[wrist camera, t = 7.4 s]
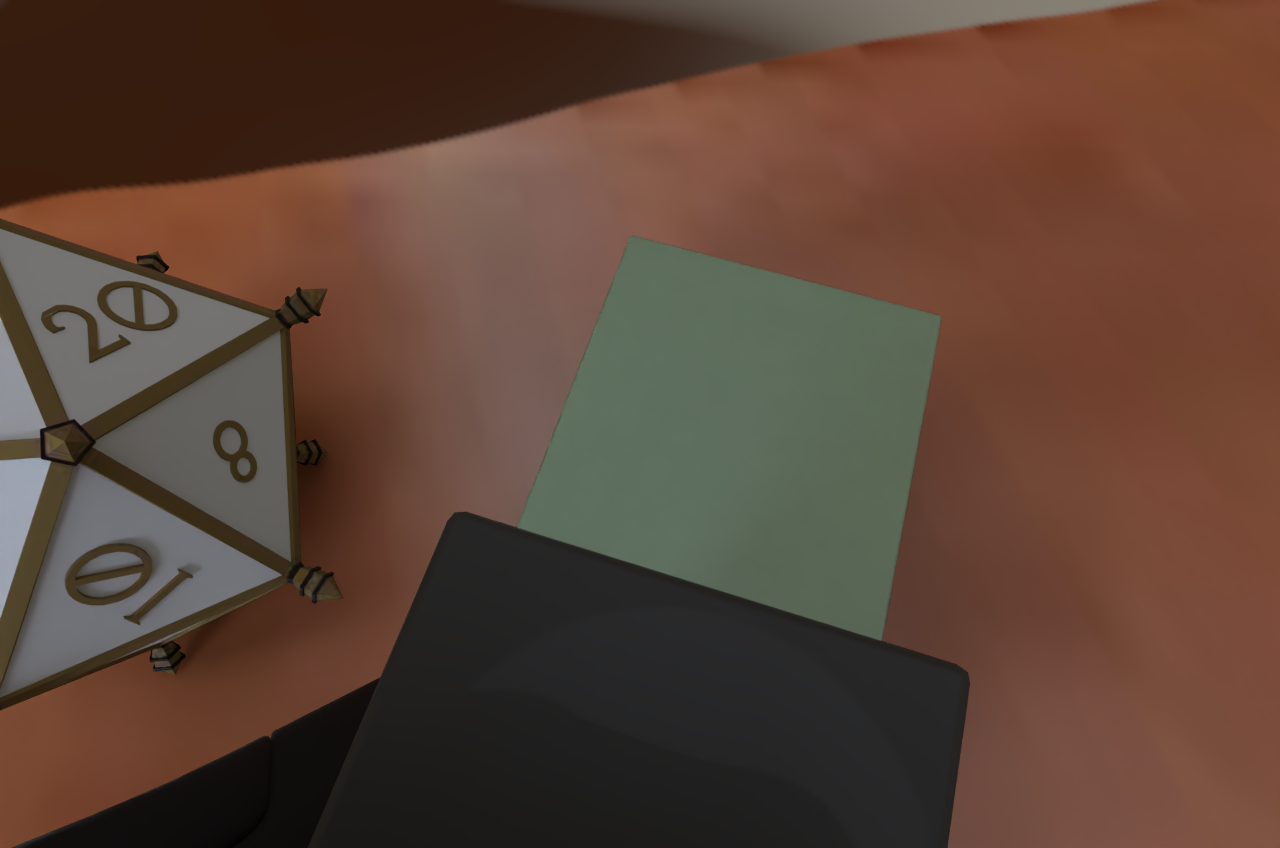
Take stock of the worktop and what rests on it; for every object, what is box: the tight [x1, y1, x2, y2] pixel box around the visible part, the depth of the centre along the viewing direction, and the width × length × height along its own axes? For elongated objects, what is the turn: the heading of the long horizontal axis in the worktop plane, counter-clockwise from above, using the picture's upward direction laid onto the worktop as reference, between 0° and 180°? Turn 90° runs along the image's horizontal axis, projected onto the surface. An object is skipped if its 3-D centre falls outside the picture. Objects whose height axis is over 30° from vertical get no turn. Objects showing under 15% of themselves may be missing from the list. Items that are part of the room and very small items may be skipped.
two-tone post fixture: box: [308, 236, 970, 848], centre depth 11 cm, size 11×6×13 cm, turn 163°
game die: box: [0, 219, 343, 710], centre depth 13 cm, size 9×8×10 cm
